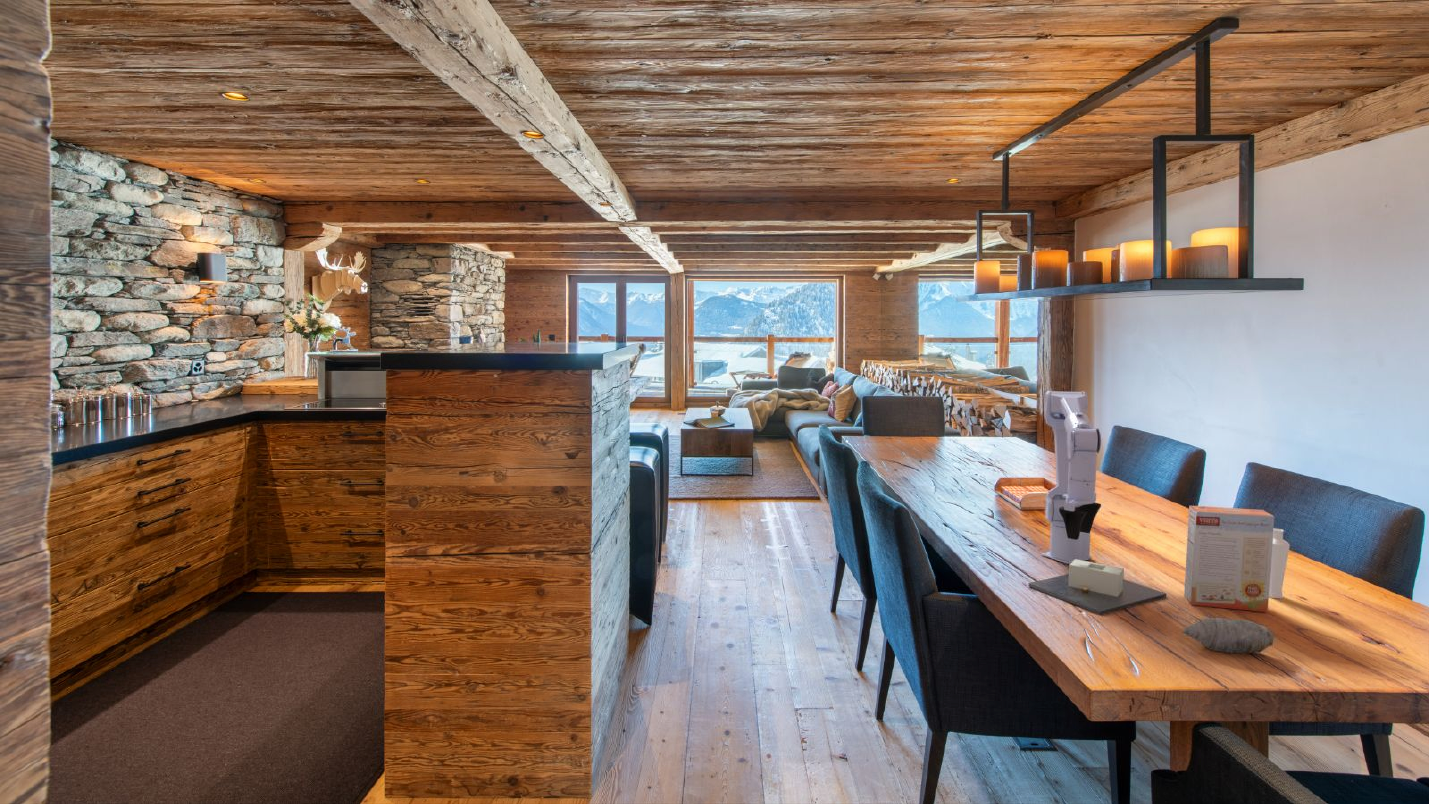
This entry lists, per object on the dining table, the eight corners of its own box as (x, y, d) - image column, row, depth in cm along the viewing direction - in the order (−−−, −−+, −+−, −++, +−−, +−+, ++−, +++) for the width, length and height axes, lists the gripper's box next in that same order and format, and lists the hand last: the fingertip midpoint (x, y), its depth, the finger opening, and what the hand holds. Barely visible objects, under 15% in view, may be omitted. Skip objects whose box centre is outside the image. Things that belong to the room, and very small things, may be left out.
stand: (1092, 571, 173) (1093, 551, 172) (1166, 597, 157) (1167, 575, 156) (1028, 586, 163) (1029, 565, 163) (1100, 615, 147) (1101, 591, 147)
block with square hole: (1122, 590, 159) (1123, 568, 158) (1117, 596, 155) (1118, 574, 154) (1074, 579, 165) (1075, 559, 165) (1068, 585, 162) (1069, 564, 161)
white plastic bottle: (1279, 600, 154) (1285, 534, 153) (1256, 594, 158) (1262, 528, 157) (1290, 597, 156) (1296, 531, 155) (1267, 590, 160) (1272, 526, 159)
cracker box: (1257, 603, 153) (1264, 508, 151) (1268, 614, 148) (1276, 516, 145) (1182, 595, 158) (1188, 503, 156) (1190, 605, 152) (1197, 510, 150)
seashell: (1174, 623, 137) (1198, 591, 133) (1247, 656, 134) (1273, 625, 131) (1182, 643, 131) (1207, 610, 128) (1259, 678, 128) (1287, 646, 125)
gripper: (1075, 472, 174) (1072, 526, 176) (1051, 480, 164) (1049, 538, 166) (1106, 476, 169) (1103, 532, 170) (1084, 485, 159) (1081, 544, 160)
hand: (1078, 535), depth 168 cm, fingers open, 7 cm apart
